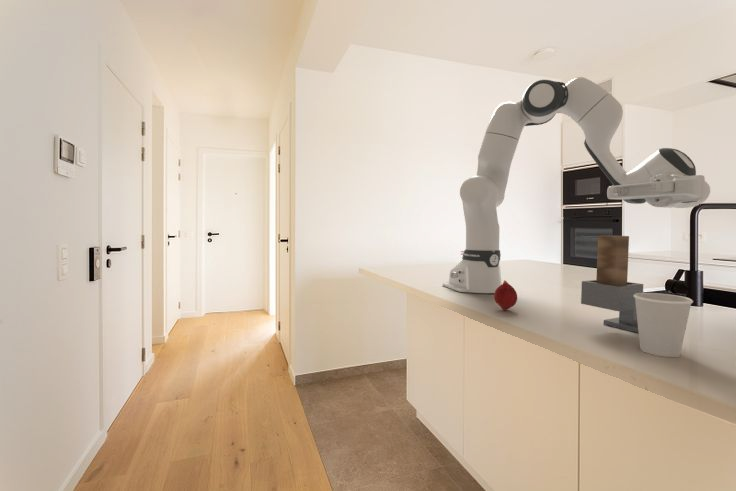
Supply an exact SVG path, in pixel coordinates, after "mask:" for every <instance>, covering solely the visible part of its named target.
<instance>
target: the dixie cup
mask: <svg viewBox="0 0 736 491" xmlns="http://www.w3.org/2000/svg"><path fill="white" fill-rule="evenodd" d="M633 296H634V297H635V303H636V312H637V322H638V331H639V333H638V339H639V348H640V350H641V352H644V353H647V354H650V355H653V356H658V357H664V358H678V357H680V356H681V353H682V349H683V343H684V339H685V334H686V330H687V325H688V320H689V316H690V311H691V307H692V304H693V303H694V300H693V299H691V298H690V297H686V296H682V295H675V294H670V293H661V292H660V293H657V292H643V293H636V294H634V295H633Z"/></svg>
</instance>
